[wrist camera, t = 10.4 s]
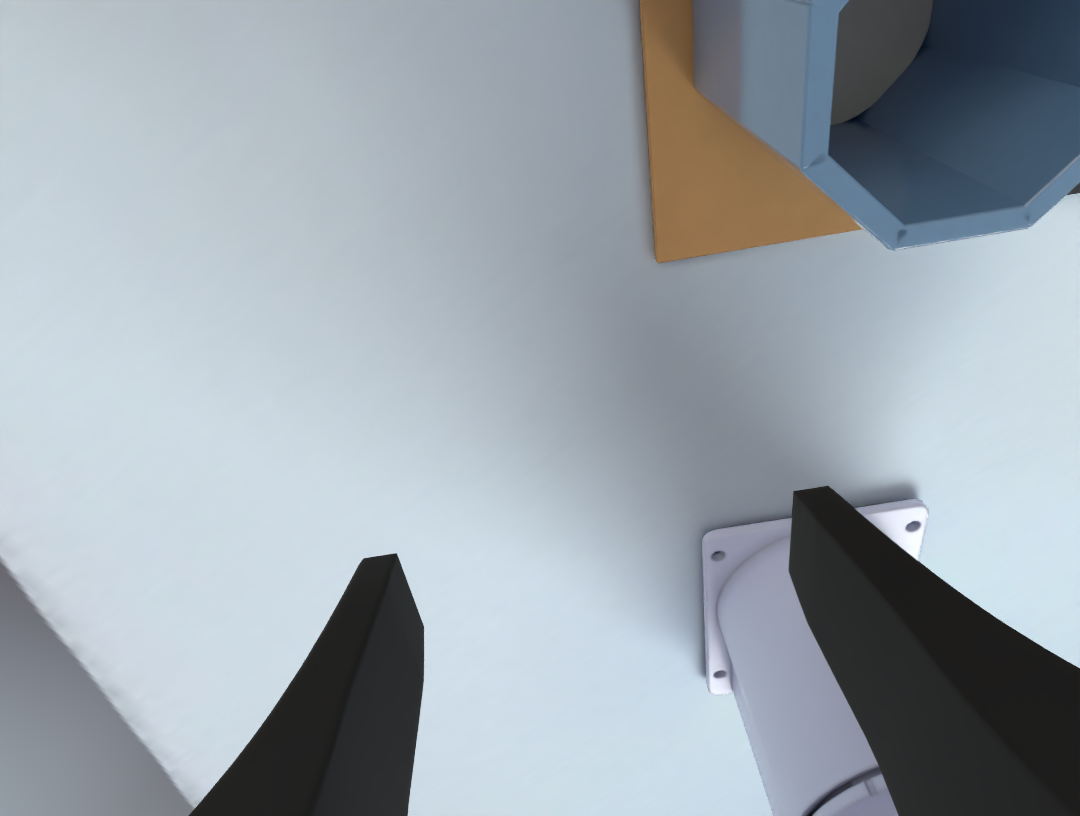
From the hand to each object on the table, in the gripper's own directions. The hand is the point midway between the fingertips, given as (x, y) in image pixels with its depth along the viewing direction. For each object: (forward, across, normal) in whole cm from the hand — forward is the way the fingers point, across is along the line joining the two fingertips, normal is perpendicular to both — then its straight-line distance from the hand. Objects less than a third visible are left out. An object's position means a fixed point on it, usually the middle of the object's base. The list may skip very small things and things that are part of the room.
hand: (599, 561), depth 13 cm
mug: (+9, -7, -8) cm, 14 cm away
